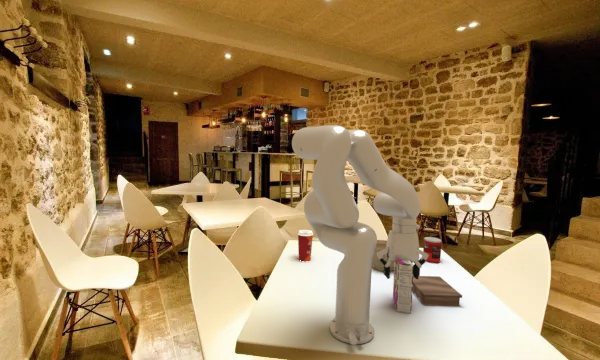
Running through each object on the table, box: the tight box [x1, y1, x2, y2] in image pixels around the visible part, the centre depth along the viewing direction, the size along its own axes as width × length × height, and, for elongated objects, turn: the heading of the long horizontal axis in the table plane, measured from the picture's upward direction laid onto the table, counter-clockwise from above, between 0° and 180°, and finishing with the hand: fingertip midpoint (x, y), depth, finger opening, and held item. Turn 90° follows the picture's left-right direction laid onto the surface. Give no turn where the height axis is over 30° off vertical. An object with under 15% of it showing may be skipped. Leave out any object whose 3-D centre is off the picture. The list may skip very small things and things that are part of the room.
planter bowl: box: [372, 239, 394, 272], centre depth 134 cm, size 16×16×11 cm
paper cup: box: [297, 229, 314, 262], centre depth 142 cm, size 8×8×14 cm
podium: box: [412, 275, 463, 307], centre depth 108 cm, size 16×13×4 cm
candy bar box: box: [392, 260, 415, 314], centre depth 100 cm, size 11×5×16 cm, turn 168°
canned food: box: [422, 236, 442, 264], centre depth 145 cm, size 8×8×11 cm
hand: (401, 277), depth 100 cm, fingers open, 9 cm apart
